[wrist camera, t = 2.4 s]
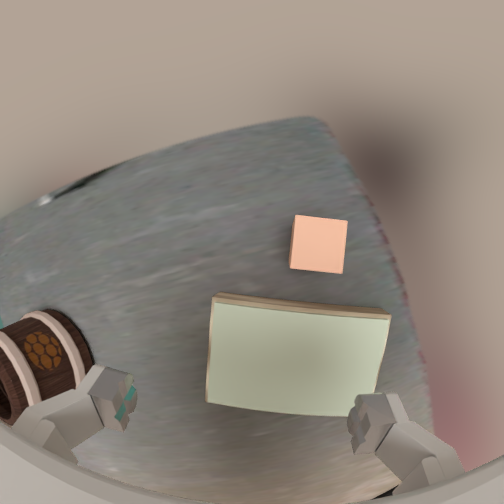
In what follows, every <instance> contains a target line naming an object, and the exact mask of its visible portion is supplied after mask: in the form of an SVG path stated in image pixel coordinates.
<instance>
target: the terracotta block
mask: <svg viewBox="0 0 504 504" xmlns="http://www.w3.org/2000/svg"><path fill="white" fill-rule="evenodd" d="M346 232H347V221H343V220H335V219H327V218H318V217H309V216H300V215H295V218H294V221H293V224H292V234H291V244H290V253H289V266H290V268H293V269H302V270H312V271H321V272H331V273H341V274H342V271H343V262H344V253H345V243H346Z"/></svg>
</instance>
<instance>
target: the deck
mask: <svg viewBox="0 0 504 504" xmlns="http://www.w3.org/2000/svg"><path fill="white" fill-rule="evenodd" d="M390 321H391V314H389V313H388V312H386V311H385V310H383V309H381V308H369V307H356V306H344V305H333V304H322V303H311V302H301V301H292V300H282V299H274V298H265V297H256V296H248V295H240V294H232V293H225V292H219V293H217V294H216V295H214V296H213V297H212V306H211V319H210V332H209V346H208V360H207V376H206V394H205V402H210V403H215V404H220V405H226V406H232V407H238V408H245V409H252V410H259V411H267V412H276V413H287V414H299V415H314V416H343V417H348V414H349V412H350V409H352V408H353V407H354V406H355V403H354V400H355V398H356V396H357V395H358V394H371V393H374V390H375V386H376V383H377V379H378V375H379V371H380V367H381V363H382V359H383V355H384V350H385V346H386V341H387V336H388V331H389V326H390Z"/></svg>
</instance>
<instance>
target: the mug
mask: <svg viewBox="0 0 504 504" xmlns="http://www.w3.org/2000/svg"><path fill="white" fill-rule="evenodd" d="M92 366H93V365H92V359H91V357H90V354H89V351H88V348H87V345H86V344H85V342H84V340H83V338H82V337H81V335H80V333H79V331H78V330H77V329H76V328H75V327H74V326H73V324H72V323H71V322H70V321H69V320H68V319H67V318H66V317H64V316H63V315H61V314H60V313H59V312H57V311H53V310H49V309H46V310H43V311H33V312H29V313H27V314H26V315H24V316H23V317H22V318H21V320H20V321H18V322H16V323H13V324H11V325H9V326H7V327H4V328H2V329H0V419H1V420H3V421H4V422H6V423H7V424H9V425H11V426H13V425H14V423H15V422H16V421H17V419H18V418H19V417H20V415H21V414H22V413H23V411H24V410H25V409H26V408H27V407H30V406H32V405H35V404H37V403H40V402H42V401H45V400H47V399H50V398H52V397H54V396H57V395H59V394H62V393H64V392H66V391H69V390H71V389H74V390H76V388H77V387H78V385H79V384H80V383H81V381H82V380H83V379H84V377H85V376H86V375H87V373H88V372H89V370H90V369H91V368H92Z"/></svg>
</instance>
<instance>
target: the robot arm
mask: <svg viewBox="0 0 504 504" xmlns="http://www.w3.org/2000/svg"><path fill="white" fill-rule="evenodd" d="M133 382H134V379H133V376H132V374H130V373H127V372H123V371H119V370H116V369H112V368H109V367H105V366H101V365H98V364H95V365H93V366H92V368H91V369H90V370H89V372H88V373H87V375H86V376H85V377H84V379H83V380H82V381H81V383H80V384H79V385H78V387H77V388H76V390H74V389H71V390H69V391H66V392H64V393H62V394H59V395H57V396H54V397H52V398H50V399H47V400H45V401H42V402H40V403H37V404H35V405H32V406H30V407H27V408H26V409H25V410H24V411H23V413H22V414H21V415H20V417H19V418H18V419H17V421H16V422H15V423H14V425H13V426H12V427H11V428H9V427H7V426H6V425H5V424H3V423H2V422H0V504H217V503H210V502H203V501H197V500H191V499H186V498H181V497H176V496H171V495H167V494H163V493H159V492H155V491H151V490H147V489H144V488H140V487H137V486H133V485H130V484H127V483H124V482H121V481H118V480H115V479H112V478H109V477H107V476H104V475H101V474H99V473H96V472H94V471H91V470H89V469H86V468H84V467H82V466H79V465H77V463H78V460H77V458H76V456H75V455H74V454H73V452H72V451H71V449H72V448H74V447H76V446H77V445H79V444H80V443H82V442H83V441H85V440H86V439H88V438H89V437H91V436H92V435H94V434H95V433H97V432H98V431H100V430H101V429H103V428H104V427H107V428H110V429H113V430H117V431H120V432H124V431H125V429H126V426H127V424H128V422H129V417H128V414H130V413H132V412H134V409H135V407H136V404H137V391H136V389H135V388H134V387H133V385H132V384H133ZM354 403H355V406H354V407H353V408H352V409H350V412H349V414H348V420H347V426H348V431H349V433H351V434H352V435H353V438H352V440H351V444H352V448H353V453H354V454H365V453H375V455H376V456H377V457H378V458H379V459H380V460H381V461H382V462H383V463H384V464H385V465H386V466H387V467H388V468H389V469H390V470H391V471H392V472H393V473H394V474H395V475H396V476H397V477H398V478H399V479H400V480H401V481H402V482H401V483H400V484H399V485H398V486H397V487H396V488H395V490H394V491H393V492H392V493H393V495H392V496H388V497H383V498H378V499H373V500H367V501H361V502H355V503H347V504H504V455H502V456H500V457H498V458H496V459H494V460H492V461H490V462H488V463H486V464H484V465H482V466H479V467H477V468H475V469H473V470H470V471H468V472H465V471H464V469H463V466H462V464H461V462H460V460H459V457H458V455H457V453H456V451H455V449H454V448H452V447H451V446H449V445H448V444H446V443H445V442H443V441H442V440H440V439H439V438H437V437H436V436H434V435H433V434H431V433H430V432H428V431H427V430H425V429H424V428H423V427H421V426H420V425H418V424H417V423H415V422H414V421H409V419H408V416H407V414H406V412H405V410H404V407H403V405H402V403H401V401H400V399H399V396H398V394H397V393H396V392H395V391H394V392H384V393H371V394H358V395H357V396H356V398H355V400H354Z"/></svg>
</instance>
